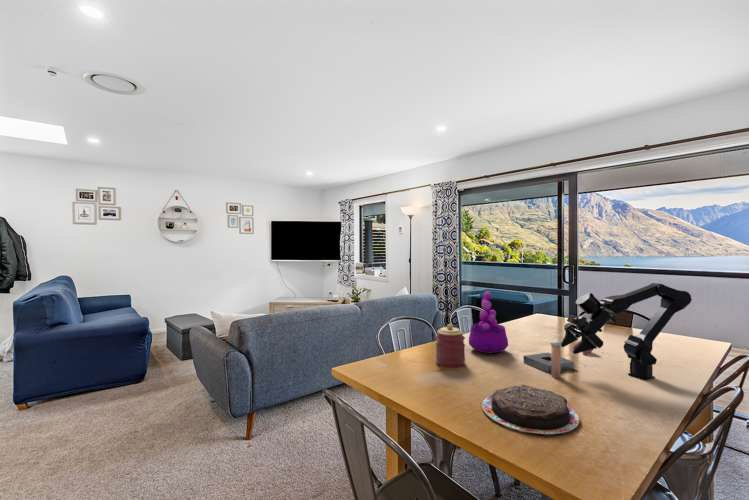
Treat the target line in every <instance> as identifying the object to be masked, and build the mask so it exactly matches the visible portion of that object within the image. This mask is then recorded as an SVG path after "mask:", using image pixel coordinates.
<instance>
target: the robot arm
mask: <svg viewBox="0 0 749 500" xmlns="http://www.w3.org/2000/svg"><path fill="white" fill-rule="evenodd" d="M655 296H657V297H660V305H659V306H660V307H658V309H657V310H656V311H655V313H654V314H653V316H652V317H651V318H650V320H649V321H648V322H647V323H646V324H645V325H644V327H643V328H642V330H640V332H639V333H638V334H637V335H633V334H630V335H628V338H627V339H626V340H625V341H624V342H623V343H624V344H623V350H624V353H625V354H626V356H627V358H629V359H630V362H629V373H627V375H629V376H630V377H634V378H637V379H639V380H643V381H647V380H652V379H656V376H655V375H654V374H653V365H657V361H658V358H656V357H655V356H654V355H653V354H652V351H653V343H654V341H655V339H657V337H658V336H659V335H660V333H661V332H662V331H663V329H664V328H665V327H666V325H667V324H668V323H669V322H670V320H671V319H672V318H673V316H674V315H675V313H677V312H680V311H682V310H684V309H686V308H687V307H688V306H689V305H690V304H691V303H692V295H691V294H690V293H689V292H688V291H685V290H680V289H676V288H673V287H670V286H667V285H665V284H664V283H656V282H652V283H650V284H648V285H645V286H643V287H640V288H638V289H635V290H631V291H630V292H627V293H624V294H619V295H618V294H617V295H611V296H606V297H603V298H602V299H597V298H596V296H595V295H594V294H593V293H592V292H587V293H586V294H583V295H581V296H579V297H578V298H577V299H576V301H575V304H576V305H577V306H578V307H579V308H580V309H582V311H584V313H585V314H587V315H589V317H584V316H582V315H579V316H576V315H573V314H571V313H570V314H569V315H568V317H567V319H566V322H568V323H566V324H564V326H563V329H564V332H565V335H564V337H563V339H562V341H561V342H562V345H561V346H560V348H564V347H566V346H568V345H570V344H572V343H574V342H576V341H578V339H579V338H581V340H580V341H581V342H580V343H579V344H578V346H577V347H576V348H575V349H573V351H572V353H573V354H574V355H577V354H580V353H583V352H584V351H587V350H591V349H594V350H597V349H601V348H602V347H603V346H604V341H603V340H602V339H601V337H599V336H598V335H597V333H598V332H600V333H601V332H603V329H602V328H603V327H604V326H605V325H606V324H607V323H608V322H611V323H614V324H615V323H616V322H617V321H616V320H617V319H616V315H614V314H621V313H623V312H625V311H627V310H628V309H629V308H630V307H631V306H632V305H634V304H636V303H639V302H642V301H645V300H648V299H651V298H653V297H655ZM611 313H613V314H611Z"/></svg>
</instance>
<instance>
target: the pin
mask: <svg viewBox="0 0 749 500" xmlns="http://www.w3.org/2000/svg"><path fill="white" fill-rule="evenodd" d="M549 344H550V345H551V347H550V348H551V352H550V353H551V363H552V372H551V378H553V379H561V377H562V376H561V374H562V373H561V372H562V371H561V361H560V357H561V345H562V341H560V340H550V343H549Z"/></svg>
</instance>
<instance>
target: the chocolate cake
mask: <svg viewBox="0 0 749 500" xmlns="http://www.w3.org/2000/svg"><path fill="white" fill-rule="evenodd" d="M481 408H482V411H483V412H484V414H486V416H487V418H488V419H490V421H491V422H493V423H496V424H498V425H500V426H503V427H505V428H508V429H511V430H513V431H516V432H518V433H522V434H538V435H541V436H546V437H553V436H554V435H559V434H564V433H571V432H572V431H574V430H575V429H576V428H577V427H579V425H580V420H581V419H580V417H579V415H578V413H577V411H575V410H574V409H573V408H572V407H571V406H569V405H568V401H567V399H566V398H565V397H564V396H563V395H560V394H558V393H556V392H554V391H551V390H546V389H544V388H543V389H542V388H537V387H535V386H530V385H526V384H521V385H513V386H508V387H505V388H499V389H496V390H495V391H494V392H493V393H492V394H491V395H488V396H487V397H485V399H484V400H482V403H481Z"/></svg>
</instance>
